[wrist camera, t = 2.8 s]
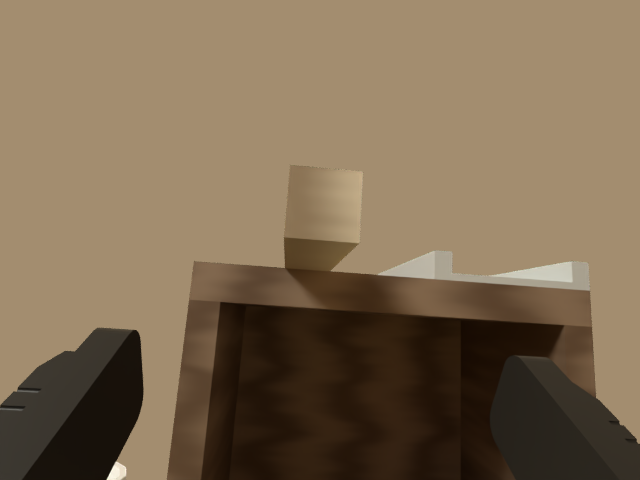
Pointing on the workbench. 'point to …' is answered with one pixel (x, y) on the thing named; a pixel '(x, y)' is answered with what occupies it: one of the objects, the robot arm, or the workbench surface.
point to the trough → (546, 276)
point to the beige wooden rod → (321, 217)
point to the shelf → (358, 372)
